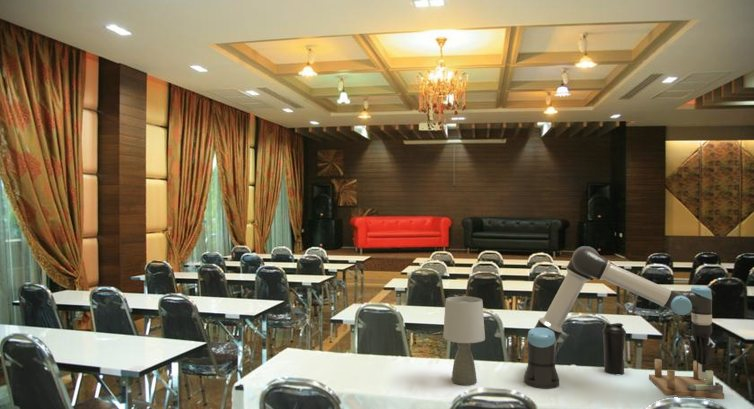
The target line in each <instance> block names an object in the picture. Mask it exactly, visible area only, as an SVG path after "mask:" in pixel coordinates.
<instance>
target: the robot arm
mask: <svg viewBox="0 0 754 409" xmlns="http://www.w3.org/2000/svg"><path fill="white" fill-rule="evenodd" d="M565 268H566V272H567V274H566V275H565V277H564V279H563V281H562V283H561V285H560V286H559V289H558V290H557V293H556V294H555V296H554V298H553V299H552V301H551V304H550V305H549V307H548V309H547V311H546V312H545V315H544V316H543V317H540V318H539V319H538V321H537V322H536V325H535V326H534V328H530V329H529V330H528V332H527V336H526V337H527V366H526V369H525V373H524V374H523V383H524V384H526V385H527V386H529V387H534V388H539V389H554V388H557V387H559V386H560V377H559V375H558V371H557V368H556V345H557V343H558V341H559V339H560V337H561V335H562V334H563V332H564V331H563V328H562V326H563V324H564V322H565V321H566V318H567V317H568V315H569V313H570V311H571V310H572V307H573V306H574V304H575V302H576V300H577V298H578V296H579V295H580V293H581V291H582V289H583V287H584V285H585V283H587V282H590V281H591V280H592V279H593V278H594V279H596V280H597V281H602V280H604V281H606V282H608V283H611V284H613V285H615V286H617V287H619V288H622V289H624V290H626V291H629V292H631V293H632V294H635V295H637V296H639V297H642V298H643V299H646V300H648V301H650V302H652V303H655V304H657V305H659V306H661V307H662V308H666V309H667V310H670V311H671V312H673V313H675V314H677V315H680V316H686V315H688V314H689V313H690V312H691V322H692V323H691V332H692V335H691V336H687V339H688V341H689V346H690V351H691V356H692V360H693V361H696V362H697V369H698V378H699V379H705V370H708V365H711V364H712V363H713V358H714V352H715V348H716V347H717V345H718V344H717V342H713V340H712V339H713V338H712V334H713V325H712V324H713V296H712V288H710V287H707V286H699V285H697V286H691V288H690V290H673V289H669V288H667V287H665V286H662V285H661V284H657V283H656V282H654V281H651V280H649V279H646V278H645V277H642V276H640V275H638V274H635V273H633V272H631V271H629V270H626V269H624V268H622V267H620V266H617V265H616V264H613V263H611V261H610V260H609V259H607V258H606V257H604V256H601V255H600V254H599V252H598V251H597V250H596V249H595V248H594V247H591V246H587V245H586V246H585V245H584V246H580V247H578V248H576V249H575V250H574V251H573V253H572V257H571V258H570V260H569V262H568V264H567V266H566V267H565Z"/></svg>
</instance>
